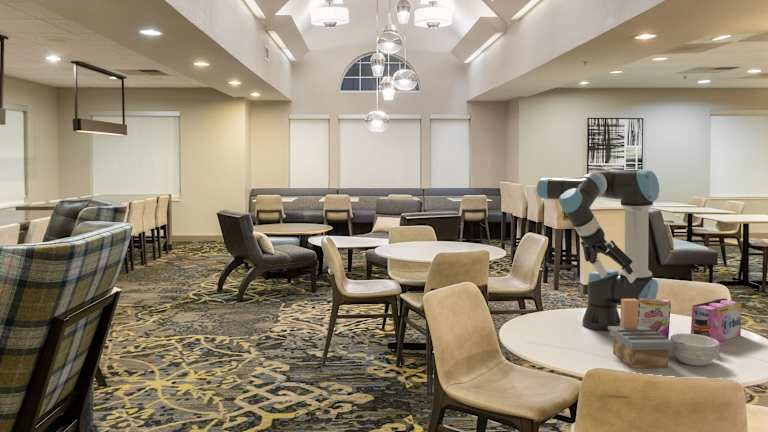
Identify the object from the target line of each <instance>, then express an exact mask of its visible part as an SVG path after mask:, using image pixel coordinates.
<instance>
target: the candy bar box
mask: <svg viewBox="0 0 768 432" xmlns="http://www.w3.org/2000/svg"><path fill="white" fill-rule="evenodd" d="M638 301H639V302H638V326H647V327H649V328H650V329H654V331H656V332H657V333H660V334H661V335H662V336H664V337H667V338H668V339H669V338H670V325H671V324H670V322H671V321H670V319H671V304H672V303H671V300H669V299H657V298H656V299H647V298H639V299H638ZM669 340H670V339H669Z"/></svg>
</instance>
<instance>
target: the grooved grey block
mask: <svg viewBox="0 0 768 432" xmlns="http://www.w3.org/2000/svg"><path fill="white" fill-rule="evenodd" d="M638 302H639V301H638V300H636V299H621V304H620V315H619V317H620V326H608V330H607V331H609V336H611V337H613V339H614V338H615V339H617V340H618V341H620V342H621V343H622V344H624V345H625V346H627V347H628V348H630V349H631V350H669V351H670V350H672V349H673V345H674V342H673V341H671V340H670V339H668V338H667V337H664V336H662V335H661V334H660V333H657V332H656V331H654V329H650V328H649V327H647V326H638Z"/></svg>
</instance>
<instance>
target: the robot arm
mask: <svg viewBox="0 0 768 432" xmlns="http://www.w3.org/2000/svg"><path fill="white" fill-rule="evenodd" d="M536 193H537V196H538V197H539V198H540V199H543V200H544V199H545V200H556V201H557V200H558V203H559V204H560V206H561V207H560V208H561V210H562V211H563V212H564V214H565V215H566V217H567V218H568V220H569V221H570V223H571V224H572V227H574V229H575V231H576V233H577V234H578V235H579V238H580V239H581V242H580V244H581V247H582V249H583V256H584V260H585V261H586V263H587V262H589V263H590V264H592V266H593V268H594V269H595V270H593V271H591V272H590V273H589V274H588V279H587V306H586V309H585V312H584V314H583V317H582V322H581V323H582V324H581V325H582V326H583V327H585V328H587V329H591V330H597V331H609V330H608V326H620V314H619V310H618V305H621V299H636V300H638V299H639V298H647V299H657V296H658V292H659V291H658V290H659V283H658V280H657V279H655V278H653V272H652V271H650V270H649V226H650V225H649V222H650V221H649V219H650V218H649V217H650V215H649V213H650V211H649V210H650V208H651V207H653V205H654V202H655V201H657V200H658V198H659V194H660V183H659V179H658V177H657V174H656V173H654V172H653V171H652V170H647V169H618V168H617V169H608V170H603V171H596V172H591V173H586V174H585V175H577V176H568V177H567V176H566V177H542V178H540V179H539V181H538V182H537V184H536ZM598 197H599V198H606V199H611V200H612V199H614V200H620V205H621V207H622V208H624V251H623V250H621V248H619V246H618V245H617V244H616V243H615V241H613V240H610V241H607V240H606V239H605V236H606V235H605V234H606V233H605V232H604V230H603V228H602V226H601V225H600V223H599V221H598V220H597V218H596V216H595V215H594V213H593V211H592V210H591V206H592V205H593V204H594V202H595V200H596V199H597V198H598ZM599 254H603V255H604V256H607V257H609V258H610V259H611V260H613V261H614V262H615V263H616V264H618V265H619V266H621V270H622V271H620V272H619V271H618V269H606V268H605V266H604V265H603V263H602V262H601V260H600V259H598V258H599V257H598V255H599Z"/></svg>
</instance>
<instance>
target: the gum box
mask: <svg viewBox="0 0 768 432" xmlns="http://www.w3.org/2000/svg"><path fill="white" fill-rule="evenodd" d="M742 302H743V301H738V302H736V301H734V300H728V298H724V297H723V298H719V299H715V300H711V301H707V302H702V303H698V304H694V305H692V306H691V307H692V308H691V321H690V322H691V323H690V324H691V327H690V334H692V324H693V323H695V318H696V317H702V318H707V324H708V325H709V326H710V338H713V339H715V340H717V341H718V342H719V343H721V342H724V341H727V340H730V339H733V338H737V337H740V336H741V331H742ZM739 335H740V336H739Z"/></svg>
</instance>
